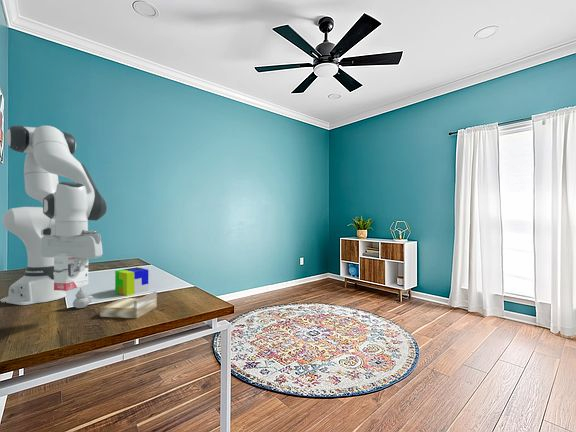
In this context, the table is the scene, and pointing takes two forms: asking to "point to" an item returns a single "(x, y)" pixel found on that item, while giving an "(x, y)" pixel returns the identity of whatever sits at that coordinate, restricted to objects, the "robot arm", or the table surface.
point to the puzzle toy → (131, 281)
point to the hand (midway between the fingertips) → (72, 270)
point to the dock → (130, 307)
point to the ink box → (68, 272)
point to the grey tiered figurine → (82, 299)
